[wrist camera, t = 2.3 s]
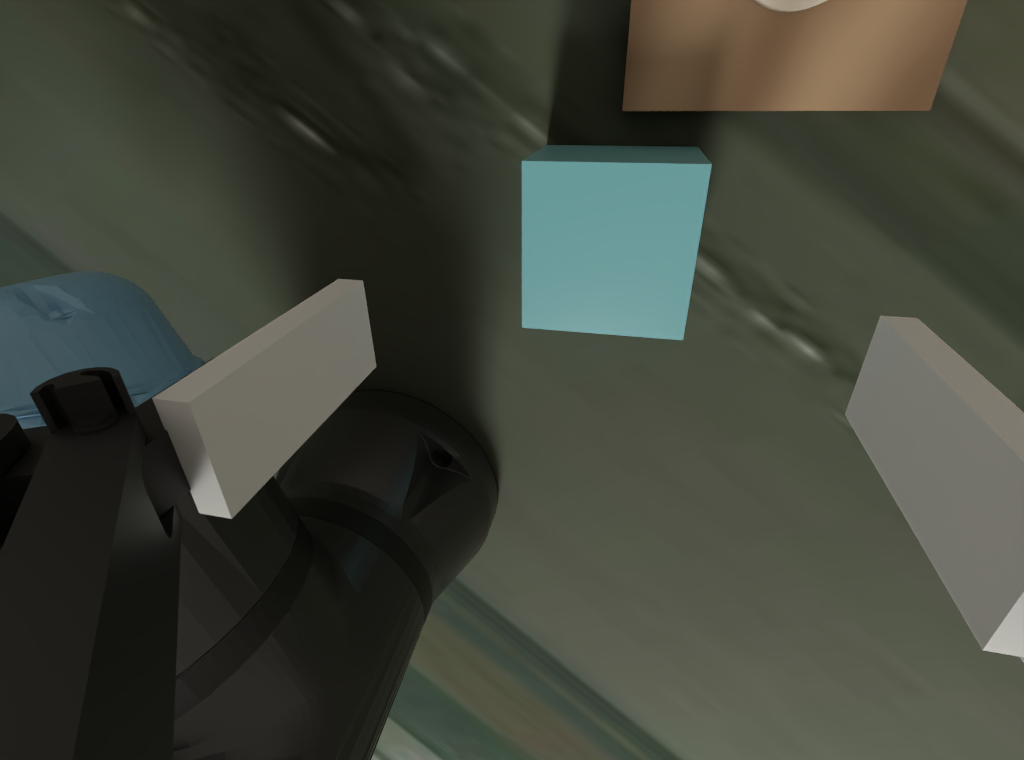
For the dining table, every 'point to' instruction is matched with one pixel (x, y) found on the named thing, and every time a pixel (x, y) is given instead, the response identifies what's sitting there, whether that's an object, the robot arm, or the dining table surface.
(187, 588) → the robot arm
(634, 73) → the wooden peg stand
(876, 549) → the dining table surface
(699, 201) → the teal block
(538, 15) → the dining table surface
